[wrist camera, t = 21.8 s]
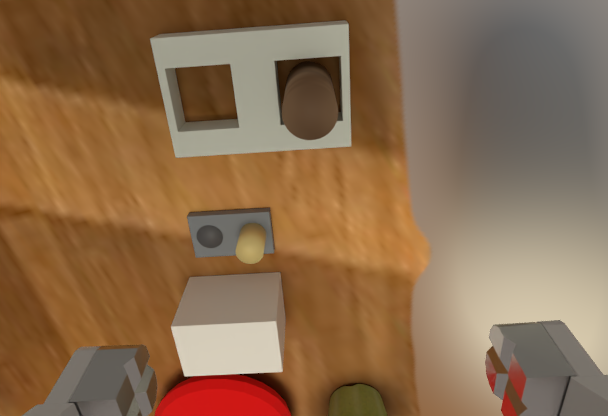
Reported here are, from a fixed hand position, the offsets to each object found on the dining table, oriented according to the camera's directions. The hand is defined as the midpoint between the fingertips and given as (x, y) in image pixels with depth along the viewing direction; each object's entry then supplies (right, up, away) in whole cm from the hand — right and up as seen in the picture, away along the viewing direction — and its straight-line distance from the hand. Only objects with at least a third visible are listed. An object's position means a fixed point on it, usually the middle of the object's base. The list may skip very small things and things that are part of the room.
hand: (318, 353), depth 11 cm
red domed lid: (-9, -20, +43) cm, 48 cm away
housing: (-7, -6, +35) cm, 36 cm away
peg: (0, +13, +25) cm, 28 cm away
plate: (-7, +1, +31) cm, 32 cm away
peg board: (-4, +13, +25) cm, 29 cm away
